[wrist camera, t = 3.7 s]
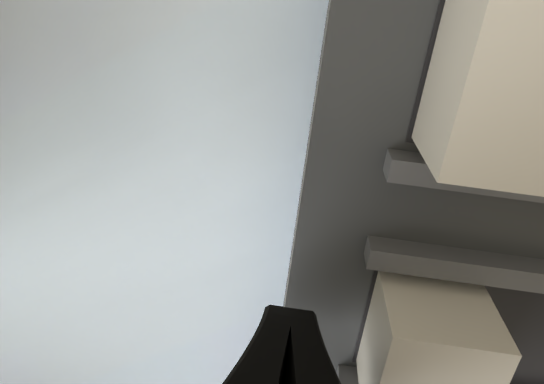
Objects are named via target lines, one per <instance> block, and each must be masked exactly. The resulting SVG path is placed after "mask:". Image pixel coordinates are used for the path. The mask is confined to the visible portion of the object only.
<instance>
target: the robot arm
mask: <svg viewBox="0 0 544 384" xmlns="http://www.w3.org/2000/svg"><path fill="white" fill-rule="evenodd" d="M222 384H341V382H340V380H339V378H338V376H337V373H336V371H335V369H334V366H333V364H332V362H331V359H330V357H329V354H328V352H327V349H326V347H325V344H324V341H323V338H322V335H321V332H320V329H319V325H318V321H317V316H316V314H315V313H314V312H313V311H310V310H303V309H296V308H289V307H281V306H274V305H269V306H267V307H265V310H264V314H263V317H262V319H261V322H260V324H259V326H258V328H257V330H256V332H255V334H254V336H253V338H252V340H251V341H250V343H249V345H248V346H247V348H246V350H245V351H244V353H243V355H242V356H241V358H240V359H239V361H238V362H237V364H236V365H235V367H234V368H233V369H232V371H231V372H230V374H229V375H228V377H227V378H226V379H225V381H224V382H223V383H222Z"/></svg>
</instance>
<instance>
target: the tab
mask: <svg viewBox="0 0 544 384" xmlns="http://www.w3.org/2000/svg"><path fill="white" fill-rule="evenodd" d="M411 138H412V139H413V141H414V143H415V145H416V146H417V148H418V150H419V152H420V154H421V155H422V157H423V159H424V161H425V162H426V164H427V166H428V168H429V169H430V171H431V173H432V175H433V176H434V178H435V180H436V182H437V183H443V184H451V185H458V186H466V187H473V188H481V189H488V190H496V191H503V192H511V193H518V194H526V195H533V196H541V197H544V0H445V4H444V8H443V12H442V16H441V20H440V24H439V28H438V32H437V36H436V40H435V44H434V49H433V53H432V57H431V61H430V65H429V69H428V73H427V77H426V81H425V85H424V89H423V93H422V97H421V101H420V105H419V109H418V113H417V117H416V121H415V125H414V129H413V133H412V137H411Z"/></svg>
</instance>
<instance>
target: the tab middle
mask: <svg viewBox="0 0 544 384" xmlns="http://www.w3.org/2000/svg"><path fill="white" fill-rule="evenodd" d="M521 357H522V355H521V353H520V351H519V349H518V348H517V346H516V344H515V342H514V340H513V338H512V336H511V334H510V333H509V331H508V329H507V327H506V325H505V323H504V321H503V319H502V318H501V316H500V314H499V312H498V310H497V308H496V306H495V304H494V303H493V301H492V299H491V297H490V295H489V293H488V291H487V289H486V288H485V286H483V285H476V284H469V283H462V282H455V281H447V280H440V279H433V278H426V277H419V276H412V275H404V274H397V273H390V272H383V271H378V274H377V278H376V282H375V286H374V290H373V294H372V298H371V302H370V306H369V310H368V314H367V318H366V322H365V326H364V330H363V334H362V338H361V342H360V346H359V351H358V355H357V359H356V363H357V373H358V383H359V384H510V382H511V380H512V377H513V375H514V373H515V371H516V368H517V366H518V364H519V362H520V360H521Z"/></svg>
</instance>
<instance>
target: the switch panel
mask: <svg viewBox="0 0 544 384" xmlns="http://www.w3.org/2000/svg"><path fill="white" fill-rule="evenodd" d="M444 4H445V0H329V4H328V10H327V17H326V24H325V30H324V37H323V44H322V50H321V57H320V64H319V71H318V77H317V84H316V91H315V97H314V104H313V111H312V117H311V124H310V131H309V137H308V144H307V151H306V158H305V164H304V171H303V178H302V184H301V191H300V198H299V204H298V211H297V218H296V225H295V231H294V238H293V245H292V251H291V258H290V265H289V271H288V278H287V285H286V291H285V298H284V305H283V307H289V308H296V309H303V310H310V311H313V312H314V313H315V314H316V316H317V321H318V325H319V329H320V332H321V335H322V338H323V341H324V344H325V347H326V349H327V352H328V354H329V357H330V359H331V362H332V364H333V366H334V369H335V371H336V373H337V376H338V378H339V380H340V382H341V384H359V383H358V373H357V363H356V359H357V355H358V351H359V346H360V342H361V338H362V334H363V330H364V326H365V322H366V318H367V314H368V310H369V306H370V302H371V298H372V294H373V290H374V286H375V282H376V278H377V274H378V271H383V272H390V273H397V274H404V275H412V276H419V277H426V278H433V279H440V280H447V281H455V282H462V283H469V284H476V285H483V286H485V288H486V289H487V291H488V293H489V295H490V297H491V299H492V301H493V303H494V304H495V306H496V308H497V310H498V312H499V314H500V316H501V318H502V319H503V321H504V323H505V325H506V327H507V329H508V331H509V333H510V334H511V336H512V338H513V340H514V342H515V344H516V346H517V348H518V349H519V351H520V353H521V355H522V357H521V360H520V362H519V364H518V366H517V368H516V371H515V373H514V375H513V377H512V380H511V382H510V384H544V197H541V196H533V195H526V194H518V193H511V192H503V191H496V190H488V189H481V188H473V187H466V186H458V185H451V184H443V183H437V182H436V180H435V178H434V176H433V175H432V173H431V171H430V169H429V168H428V166H427V164H426V162H425V161H424V159H423V157H422V155H421V154H420V152H419V150H418V148H417V146H416V145H415V143H414V141H413V139H412V138H411V137H412V133H413V129H414V125H415V121H416V117H417V113H418V109H419V105H420V101H421V97H422V93H423V89H424V85H425V81H426V77H427V73H428V69H429V65H430V61H431V57H432V53H433V49H434V44H435V40H436V36H437V32H438V28H439V24H440V20H441V16H442V12H443V8H444Z"/></svg>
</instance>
